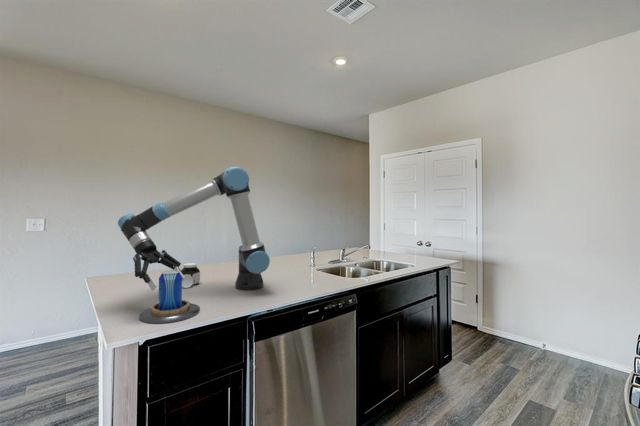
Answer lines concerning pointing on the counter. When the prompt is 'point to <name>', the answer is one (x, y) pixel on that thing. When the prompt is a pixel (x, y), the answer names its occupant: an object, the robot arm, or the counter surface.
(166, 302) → the beer can
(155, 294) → the counter surface
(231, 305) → the counter surface
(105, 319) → the counter surface
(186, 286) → the spread jar
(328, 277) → the counter surface
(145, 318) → the collar plate
